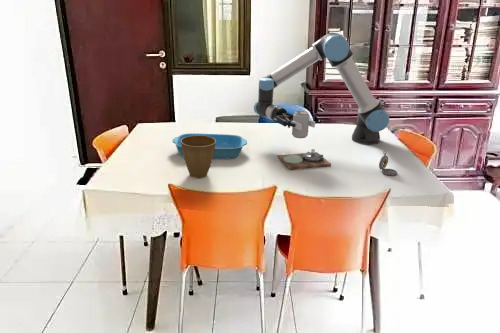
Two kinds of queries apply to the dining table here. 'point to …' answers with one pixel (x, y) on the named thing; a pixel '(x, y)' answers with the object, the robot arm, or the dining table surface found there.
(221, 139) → the casserole dish
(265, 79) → the robot arm
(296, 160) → the output pad
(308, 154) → the gear
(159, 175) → the dining table surface
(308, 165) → the gear board
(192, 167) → the plant pot
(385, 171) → the pocket watch
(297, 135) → the can
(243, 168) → the dining table surface
